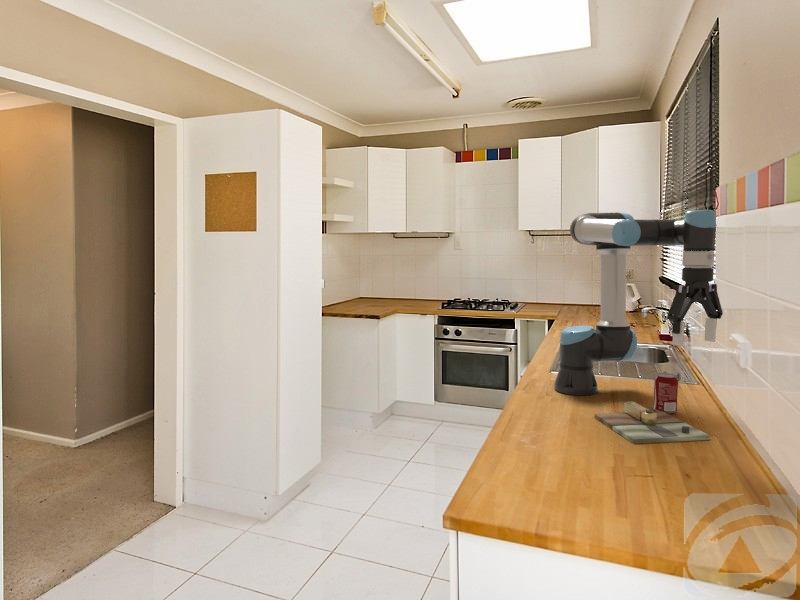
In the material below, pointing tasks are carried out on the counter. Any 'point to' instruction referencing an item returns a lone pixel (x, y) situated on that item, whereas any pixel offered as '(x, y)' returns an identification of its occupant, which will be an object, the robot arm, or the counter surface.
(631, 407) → the swing bar
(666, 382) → the soda can
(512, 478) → the counter surface
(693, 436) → the latch board
